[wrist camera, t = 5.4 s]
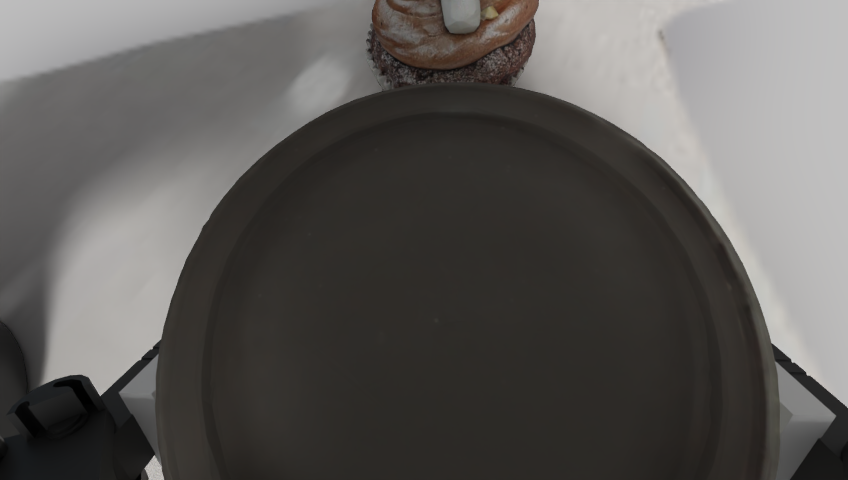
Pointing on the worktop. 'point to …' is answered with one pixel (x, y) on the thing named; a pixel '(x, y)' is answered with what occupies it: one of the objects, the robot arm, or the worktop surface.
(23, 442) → the robot arm
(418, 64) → the cupcake
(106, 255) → the worktop surface
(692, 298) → the coffee can
